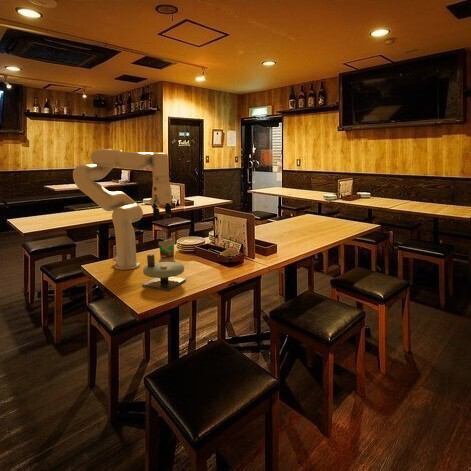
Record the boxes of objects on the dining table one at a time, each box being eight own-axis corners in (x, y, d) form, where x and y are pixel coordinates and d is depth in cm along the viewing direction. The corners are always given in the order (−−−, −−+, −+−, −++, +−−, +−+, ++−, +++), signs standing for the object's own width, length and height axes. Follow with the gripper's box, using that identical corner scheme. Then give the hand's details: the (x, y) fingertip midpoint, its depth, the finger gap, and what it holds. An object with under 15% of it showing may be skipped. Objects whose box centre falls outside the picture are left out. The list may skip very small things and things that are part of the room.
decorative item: (237, 250, 206) (242, 247, 196) (237, 265, 204) (242, 263, 195) (216, 249, 203) (220, 246, 193) (216, 264, 201) (220, 262, 191)
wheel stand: (142, 286, 163) (141, 274, 161) (160, 276, 175) (160, 265, 174) (168, 291, 157) (168, 278, 156) (185, 280, 170) (185, 269, 168)
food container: (168, 260, 201) (168, 242, 199) (159, 259, 203) (158, 241, 201) (179, 254, 212) (179, 237, 210) (170, 253, 214) (169, 236, 212)
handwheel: (191, 268, 169) (191, 254, 167) (168, 280, 153) (167, 265, 152) (159, 262, 177) (159, 249, 175) (134, 274, 161) (133, 259, 159)
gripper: (156, 181, 164) (158, 218, 168) (177, 178, 179) (178, 213, 183) (142, 180, 167) (145, 217, 171) (164, 178, 182) (166, 212, 186)
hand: (162, 215), depth 177 cm, fingers open, 9 cm apart
